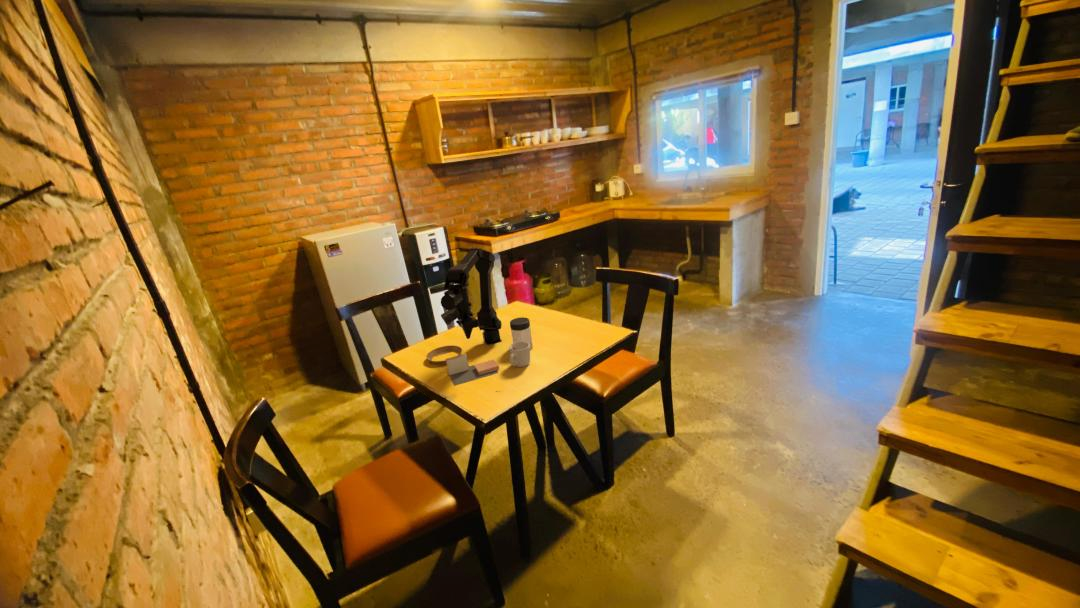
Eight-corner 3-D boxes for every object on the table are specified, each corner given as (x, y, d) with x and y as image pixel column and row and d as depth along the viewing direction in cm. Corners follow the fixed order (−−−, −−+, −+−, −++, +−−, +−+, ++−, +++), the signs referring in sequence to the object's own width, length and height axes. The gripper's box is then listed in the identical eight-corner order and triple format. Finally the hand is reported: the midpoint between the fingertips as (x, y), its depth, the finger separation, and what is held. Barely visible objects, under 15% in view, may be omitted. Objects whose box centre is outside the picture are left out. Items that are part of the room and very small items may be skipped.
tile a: (493, 359, 178) (498, 365, 172) (494, 363, 179) (499, 369, 173) (473, 364, 176) (478, 371, 170) (474, 368, 176) (479, 375, 170)
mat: (489, 361, 181) (489, 360, 181) (498, 373, 171) (498, 372, 171) (447, 373, 176) (447, 372, 176) (454, 386, 165) (454, 385, 165)
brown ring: (427, 355, 194) (425, 349, 193) (461, 348, 197) (460, 342, 196) (428, 370, 180) (426, 364, 180) (465, 362, 184) (463, 356, 183)
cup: (521, 374, 168) (519, 354, 166) (503, 371, 172) (500, 352, 170) (535, 361, 177) (533, 342, 174) (518, 358, 181) (516, 340, 178)
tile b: (468, 368, 177) (465, 353, 175) (469, 370, 175) (466, 354, 173) (448, 374, 174) (445, 358, 172) (449, 375, 173) (446, 360, 170)
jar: (509, 350, 189) (505, 324, 184) (517, 342, 195) (514, 316, 191) (528, 352, 185) (525, 325, 181) (536, 344, 192) (533, 317, 188)
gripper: (435, 299, 177) (442, 336, 182) (446, 312, 161) (454, 352, 166) (462, 293, 181) (469, 329, 186) (476, 305, 165) (483, 344, 170)
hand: (468, 338), depth 177 cm, fingers closed
